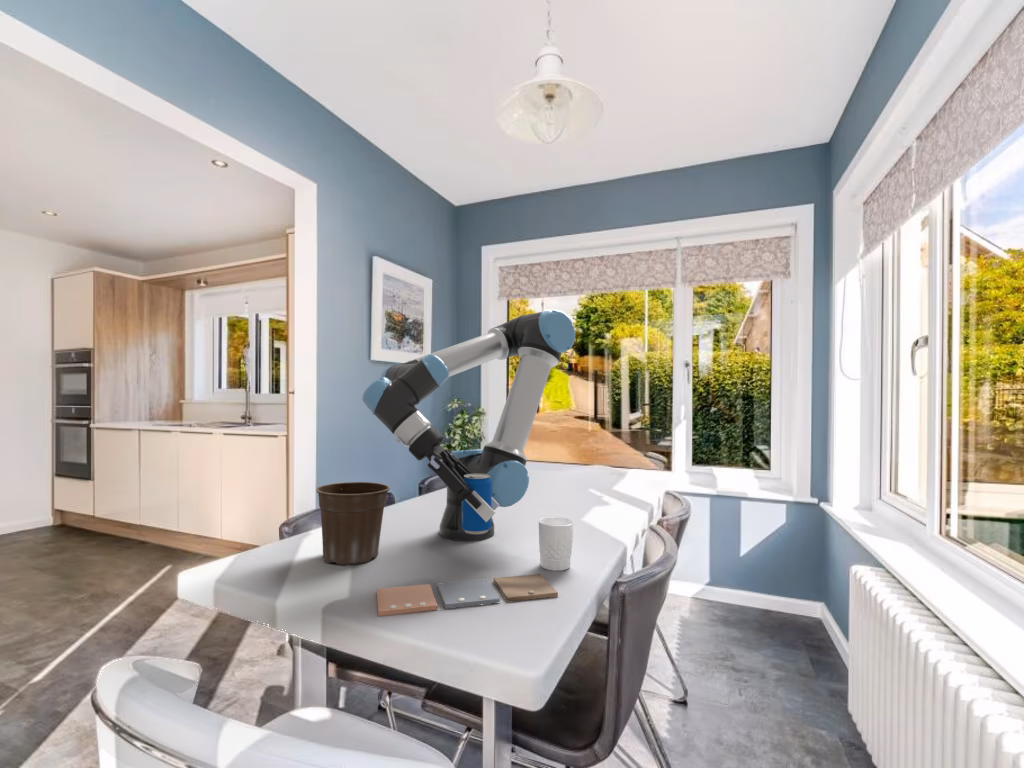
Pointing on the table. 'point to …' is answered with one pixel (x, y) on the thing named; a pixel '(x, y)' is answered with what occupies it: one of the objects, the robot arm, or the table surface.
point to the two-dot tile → (467, 593)
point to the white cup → (555, 543)
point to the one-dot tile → (524, 587)
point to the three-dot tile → (405, 600)
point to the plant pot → (351, 520)
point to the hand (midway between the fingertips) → (492, 513)
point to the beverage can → (469, 516)
